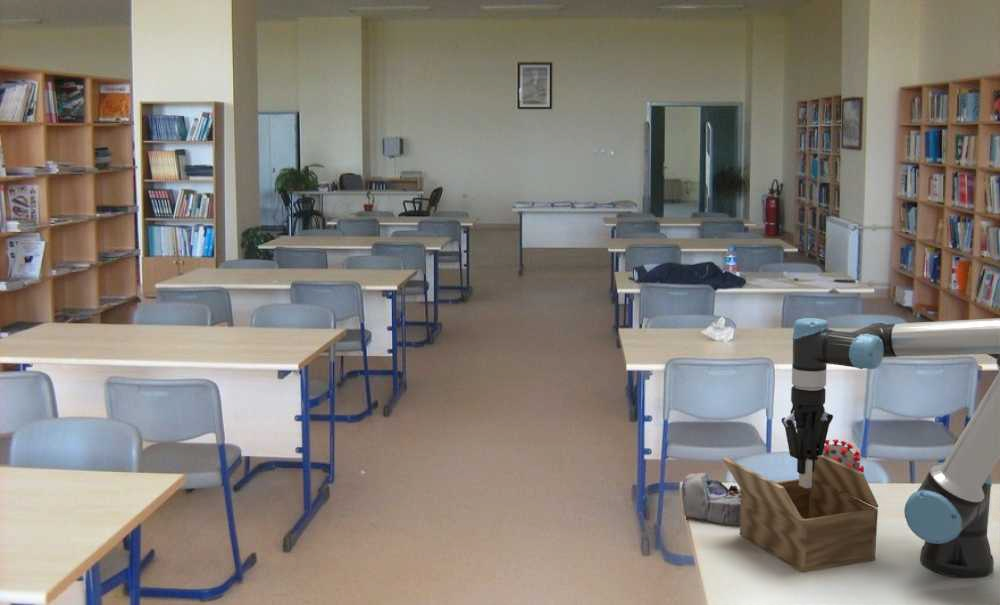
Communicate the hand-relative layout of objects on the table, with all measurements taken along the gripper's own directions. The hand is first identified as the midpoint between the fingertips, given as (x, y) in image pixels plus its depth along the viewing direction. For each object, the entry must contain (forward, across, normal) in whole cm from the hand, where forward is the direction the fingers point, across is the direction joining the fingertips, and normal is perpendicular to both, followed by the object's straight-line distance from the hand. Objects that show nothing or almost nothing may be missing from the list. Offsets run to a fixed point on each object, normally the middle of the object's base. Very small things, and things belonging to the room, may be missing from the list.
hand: (805, 486), depth 253 cm
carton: (+15, -1, 0) cm, 15 cm away
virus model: (+15, -32, -28) cm, 45 cm away
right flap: (-1, -9, 0) cm, 9 cm away
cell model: (+15, +6, -24) cm, 29 cm away
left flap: (-1, +11, -1) cm, 12 cm away
